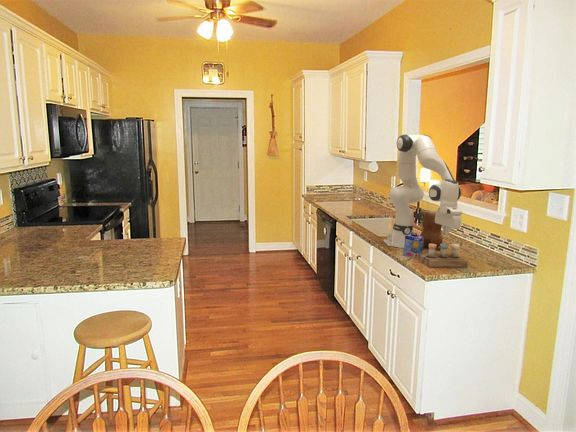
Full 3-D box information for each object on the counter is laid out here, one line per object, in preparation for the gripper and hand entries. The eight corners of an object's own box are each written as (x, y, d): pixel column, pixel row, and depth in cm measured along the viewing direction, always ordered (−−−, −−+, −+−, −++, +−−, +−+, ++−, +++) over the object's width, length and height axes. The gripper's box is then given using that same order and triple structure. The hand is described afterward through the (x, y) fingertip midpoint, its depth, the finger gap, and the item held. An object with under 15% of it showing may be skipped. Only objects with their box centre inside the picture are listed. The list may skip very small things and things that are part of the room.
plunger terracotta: (426, 255, 241) (427, 243, 240) (432, 255, 242) (434, 243, 240) (429, 257, 237) (431, 245, 236) (436, 257, 238) (437, 245, 237)
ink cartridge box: (402, 255, 257) (405, 231, 254) (406, 253, 261) (409, 230, 259) (418, 258, 251) (421, 234, 248) (422, 257, 255) (425, 233, 253)
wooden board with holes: (417, 260, 246) (418, 253, 245) (452, 260, 250) (453, 253, 250) (430, 267, 232) (431, 260, 232) (467, 267, 237) (467, 260, 236)
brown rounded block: (438, 246, 285) (442, 209, 280) (443, 251, 272) (448, 212, 267) (417, 245, 286) (420, 207, 282) (421, 249, 273) (425, 210, 269)
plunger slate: (437, 255, 242) (438, 243, 241) (444, 255, 243) (445, 243, 242) (441, 257, 238) (442, 245, 237) (448, 257, 239) (449, 245, 238)
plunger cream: (448, 255, 244) (450, 243, 242) (455, 255, 244) (456, 243, 243) (452, 257, 240) (454, 245, 239) (459, 257, 241) (460, 245, 239)
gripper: (433, 206, 246) (430, 230, 248) (453, 212, 226) (450, 237, 228) (443, 206, 247) (440, 230, 249) (464, 212, 227) (461, 237, 229)
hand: (445, 234), depth 238 cm, fingers closed
